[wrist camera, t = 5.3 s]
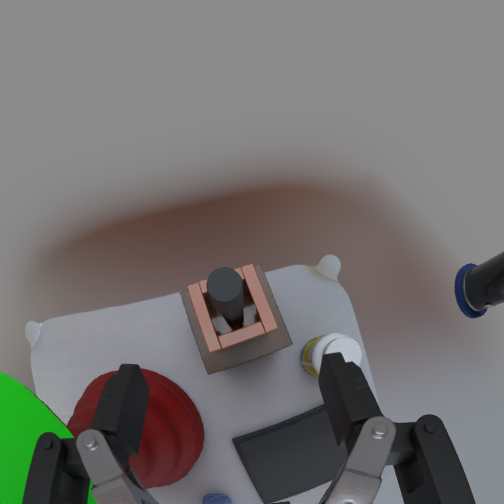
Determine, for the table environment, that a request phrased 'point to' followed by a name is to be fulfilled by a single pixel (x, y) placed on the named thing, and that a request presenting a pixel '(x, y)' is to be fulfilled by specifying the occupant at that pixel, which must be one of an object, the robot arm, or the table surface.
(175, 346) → the table surface
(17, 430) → the table lamp
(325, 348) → the pill bottle
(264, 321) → the pen cup
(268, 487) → the tablet
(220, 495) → the decorative dice
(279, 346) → the stand
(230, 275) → the stylus
